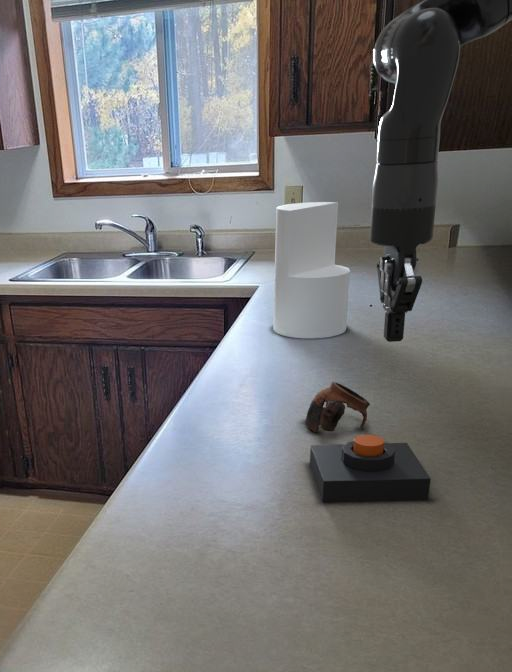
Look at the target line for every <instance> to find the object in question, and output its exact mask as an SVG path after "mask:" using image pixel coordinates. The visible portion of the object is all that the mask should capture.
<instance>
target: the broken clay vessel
mask: <svg viewBox="0 0 512 672" xmlns="http://www.w3.org/2000/svg"><path fill="white" fill-rule="evenodd" d="M345 404H346V405H345ZM370 405H371V402H369V401H368V400H367V399H366V398H365V397H363V396H362V395H360V394H359V393H357V392H356V391H354V390H352V389H351V388H349V387H348V386H345V385H343V384H342V383H338V382H335V381H332V382H331V384H330V385H329V387H326V388H324V389H321V390H320V391H318V392H317V393H316V394H315V395H314V397H313V399H312V400H311V402H310V404H309V408H308V410H307V412H306V416H305V420H304V424H305V425H306V427H307V428H309V429H310V430H311V431H312V432H314V433H318V431H319V427H320V428H321V429H322V430H323V431H326V432H334V431H335V430H336V428H337V425H338V423H339V421H340V420H341V419H342V417H343V416H344V414H345V410H346V408H349V409H352V410H353V411H356V412H359V413H360V414H361V415H362V421H361V423H360V429H363V428H364V427H365V425H366V423H367V420H368V412H367V411H368V410H367V409H368V408H369V406H370Z"/></svg>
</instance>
